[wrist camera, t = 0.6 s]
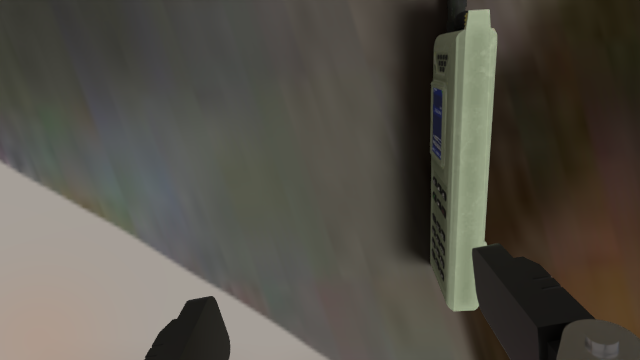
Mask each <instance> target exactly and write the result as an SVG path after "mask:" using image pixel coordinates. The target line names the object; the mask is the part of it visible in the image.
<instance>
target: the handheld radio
mask: <svg viewBox="0 0 640 360" xmlns="http://www.w3.org/2000/svg"><path fill="white" fill-rule="evenodd" d="M466 6H467V0H447V8H448V22H447V33H446V34H441V35H439V36H438V37H437V38H436V40H435V44H434V62H433V81H432V83H431V126H430V154H431V243H430V263H431V265H432V268H433V271H434V273H435V276H436V278H437V281H438V283H439V286H440V288H441V291H442V294H443V296H444V299H445V301H446V304H447V306H448V307H449V308H450V309H451V310H453V311H468V310H476V309H477V308H478V306H479V303H478V300H477V295H476V288H475V279H474V270H473V261H472V249H473V248H476V247H482V246H487V243H486V242H485V240H484V237H485V221H486V206H487V190H488V175H489V159H490V144H491V129H492V113H493V98H494V82H495V67H496V51H497V33H496V31H495V30H494V29H493V28H490V11H489V9H483V10H468V11H465V7H466Z"/></svg>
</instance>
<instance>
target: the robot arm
mask: <svg viewBox="0 0 640 360" xmlns="http://www.w3.org/2000/svg"><path fill="white" fill-rule="evenodd" d="M472 261H473V270H474V279H475V288H476V295H477V300H478V303H479V306H480V309H481V311H482V313H483V315H484V317H485V318H486V320H487V321H488V323H489V325H490V326H491V328H492V330H493V331H494V333H495V335H496V336H497V338H498V339H499V341H500V343H501V344H502V346H503V348H504V349H505V351H506V352H507V354H508V356H509V357H510V359H511V360H640V339H639V338H638V337H637V336H636V335H634V334H633V333H632V332H630V331H629V330H627V329H625V328H624V327H621V326H619V325H617V324H614V323H611V322H607V321H603V320H596V319H595V318H594V317H593V316H592V315H591V314H590V313H589V312H588V311H587V310H586V309H585V308H584V307H582V306H581V305H580V304H579V303H578V302H577V301H576V300H575V299H574V298H573V297H572V296H571V295H570V294H569V293H568V292H567V291H566V290H565V289H564V288H563V287H561V286H560V284H559V283H558V282H557V281H556V280H555V279H554V278H551V275H550V274H549V273H548V272H547V271H546V270H545V269H544V268H543V267H542V266H541V265H539V264H537V263H535V262H533V261H531V260H529V259H527V258H525V257H517V258H513V257H512V256H511V255H510V254H509V253H508V252H507V251H506V250H505V249H504V247H503V246H502V245H501V244H492V245H487V246H482V247H476V248H473V249H472ZM229 356H230V340H229V336H228V333H227V330H226V327H225V324H224V321H223V318H222V316H221V313H220V310H219V307H218V304H217V302H216V300H215V298H214V297H213V296H209V297H203V298H199V299H193V300H189V301H187V302H186V304H185V306H184V307H183V309H182V311H181V313H180V315H179V316H178V318H177V319H174V320H172V321H171V322H170V323H169V324H168V325H167V326H166V327H165V328H164V329H163V330H162V331H161V332H160V333H159V334H158V336H157V338H156V339H155V341H154V343H153V345H152V348H150V350H149V351H148V353H147V355H146V356H145V360H228V359H229Z"/></svg>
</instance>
